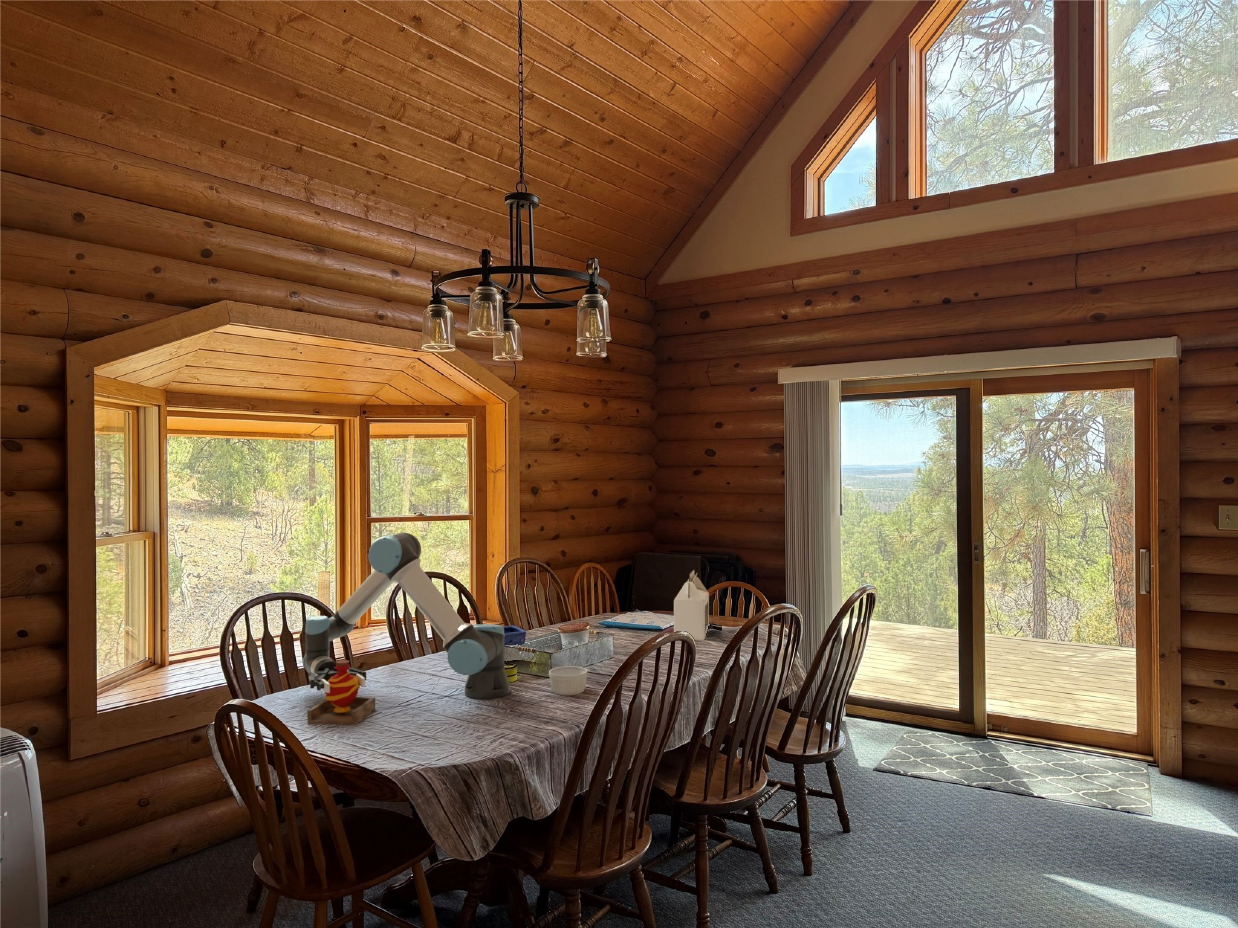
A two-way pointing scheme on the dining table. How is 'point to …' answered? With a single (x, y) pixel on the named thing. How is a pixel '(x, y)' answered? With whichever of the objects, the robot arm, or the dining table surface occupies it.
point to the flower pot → (514, 635)
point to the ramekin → (568, 680)
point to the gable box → (692, 608)
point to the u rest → (327, 715)
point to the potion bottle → (342, 688)
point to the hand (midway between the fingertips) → (346, 685)
